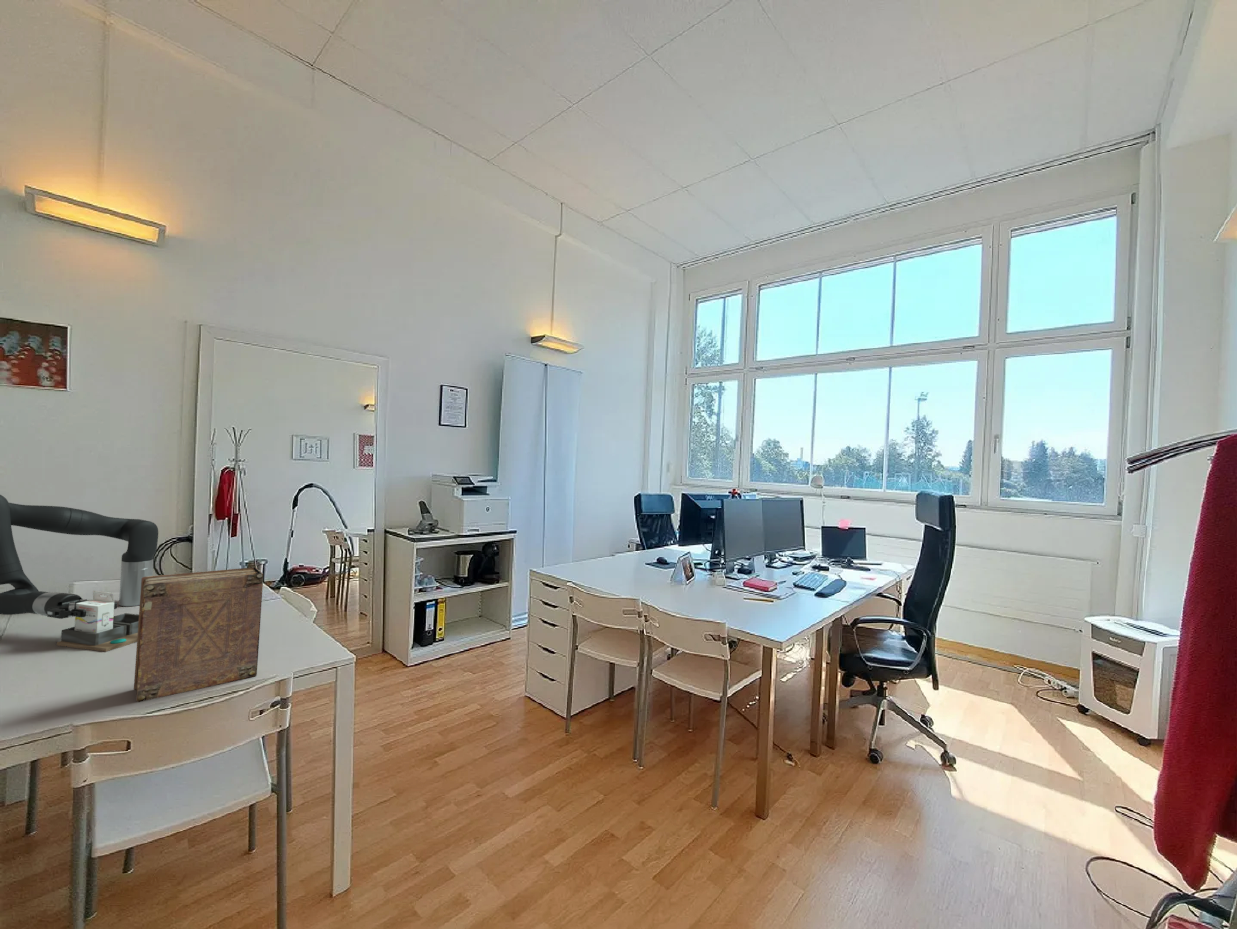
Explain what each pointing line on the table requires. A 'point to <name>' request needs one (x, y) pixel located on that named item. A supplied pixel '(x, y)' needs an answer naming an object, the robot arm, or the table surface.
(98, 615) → the ink cartridge box
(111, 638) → the socket board
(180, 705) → the table surface
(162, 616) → the book
